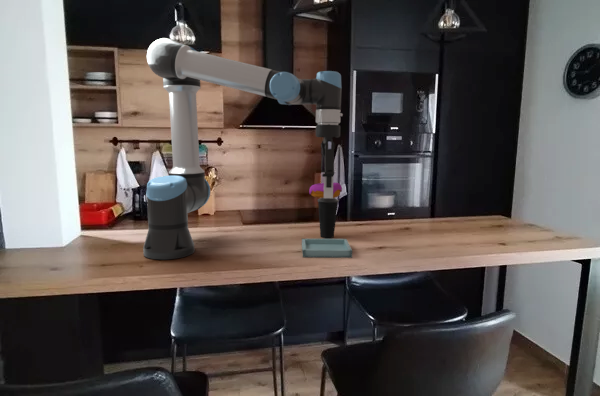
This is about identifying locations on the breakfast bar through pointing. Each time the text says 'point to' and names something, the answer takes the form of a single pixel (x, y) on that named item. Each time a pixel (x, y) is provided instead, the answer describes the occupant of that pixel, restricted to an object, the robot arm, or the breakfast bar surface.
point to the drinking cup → (327, 216)
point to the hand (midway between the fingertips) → (326, 195)
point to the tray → (326, 248)
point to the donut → (318, 190)
